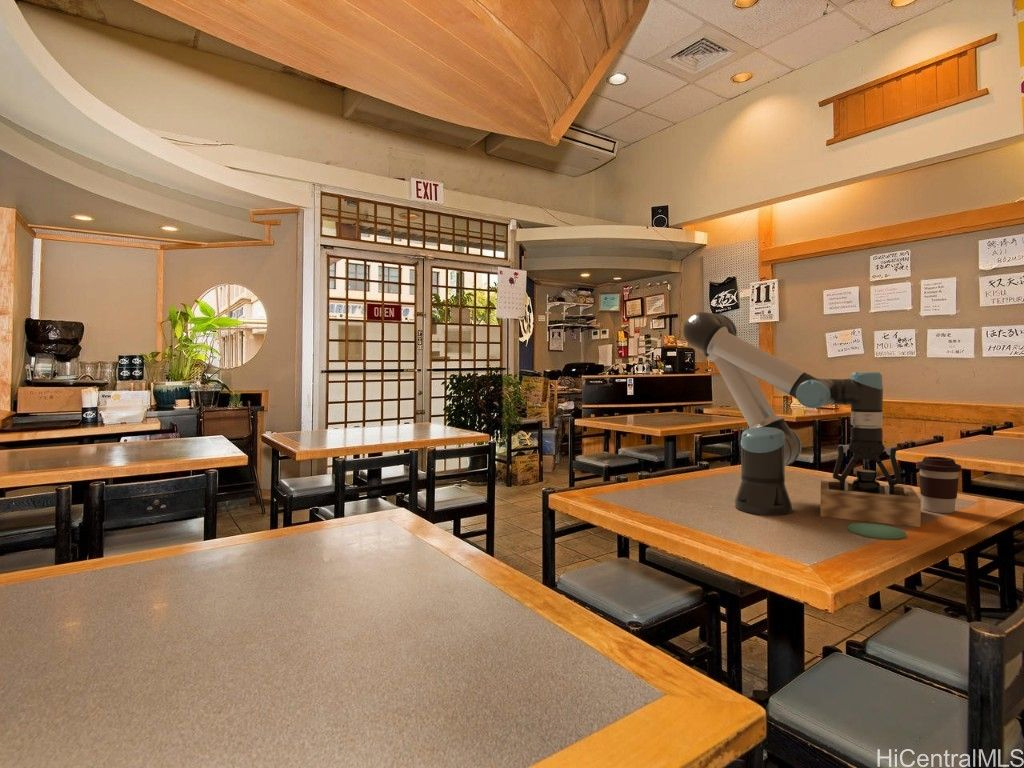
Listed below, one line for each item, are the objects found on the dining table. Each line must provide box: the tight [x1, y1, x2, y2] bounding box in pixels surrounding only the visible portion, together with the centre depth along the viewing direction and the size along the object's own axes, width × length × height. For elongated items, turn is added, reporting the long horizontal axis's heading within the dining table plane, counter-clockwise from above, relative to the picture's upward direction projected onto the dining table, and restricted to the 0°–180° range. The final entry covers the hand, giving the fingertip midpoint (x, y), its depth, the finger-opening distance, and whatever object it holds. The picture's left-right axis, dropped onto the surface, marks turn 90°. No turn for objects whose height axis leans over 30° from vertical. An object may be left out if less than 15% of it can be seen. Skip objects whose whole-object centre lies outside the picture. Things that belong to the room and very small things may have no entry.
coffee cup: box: [916, 456, 962, 514], centre depth 156 cm, size 10×10×15 cm
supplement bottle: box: [852, 469, 881, 494], centre depth 154 cm, size 7×7×12 cm
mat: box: [847, 522, 907, 541], centre depth 137 cm, size 12×12×1 cm
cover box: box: [820, 478, 922, 528], centre depth 154 cm, size 22×19×7 cm
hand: (866, 505), depth 154 cm, fingers open, 9 cm apart
